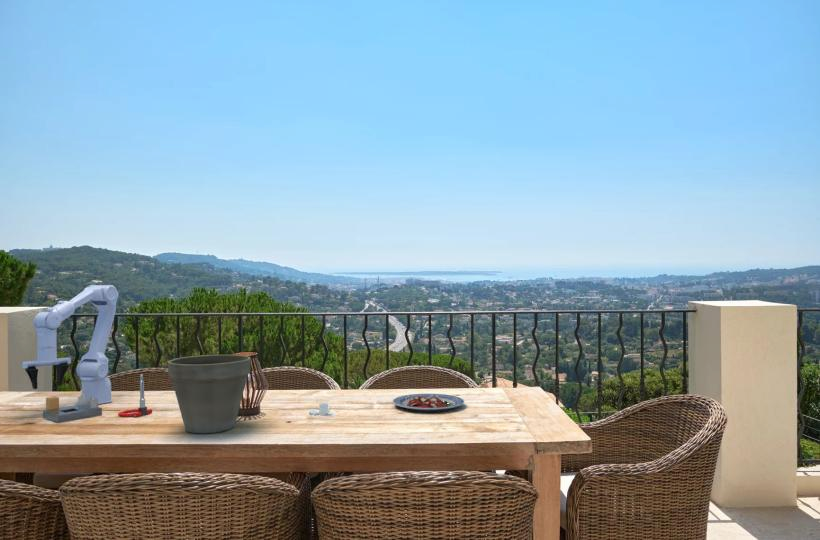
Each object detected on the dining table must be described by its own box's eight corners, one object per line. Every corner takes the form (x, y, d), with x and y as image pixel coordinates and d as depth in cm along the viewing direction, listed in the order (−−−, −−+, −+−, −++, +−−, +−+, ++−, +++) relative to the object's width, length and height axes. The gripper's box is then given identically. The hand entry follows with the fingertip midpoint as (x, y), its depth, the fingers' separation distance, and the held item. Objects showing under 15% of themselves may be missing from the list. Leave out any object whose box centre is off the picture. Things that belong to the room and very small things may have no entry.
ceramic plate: (380, 411, 218) (380, 402, 218) (408, 397, 242) (408, 389, 242) (451, 417, 209) (451, 408, 209) (472, 402, 232) (472, 394, 232)
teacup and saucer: (305, 415, 213) (305, 403, 213) (323, 411, 219) (323, 400, 219) (321, 420, 207) (321, 407, 207) (340, 415, 213) (339, 403, 213)
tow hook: (112, 417, 212) (134, 418, 208) (110, 376, 212) (132, 376, 209) (133, 411, 220) (154, 412, 217) (131, 372, 221) (153, 372, 217)
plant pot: (186, 418, 208) (186, 353, 208) (260, 418, 207) (260, 353, 207) (153, 438, 183) (153, 364, 183) (237, 438, 182) (236, 364, 182)
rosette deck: (86, 410, 221) (86, 393, 221) (101, 415, 213) (101, 397, 213) (43, 417, 210) (43, 399, 210) (57, 423, 202) (57, 404, 202)
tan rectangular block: (55, 413, 216) (55, 396, 216) (59, 415, 214) (59, 397, 214) (46, 415, 213) (45, 397, 213) (49, 416, 211) (49, 398, 211)
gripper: (64, 344, 222) (65, 382, 222) (19, 348, 211) (19, 388, 211) (73, 345, 217) (73, 384, 217) (26, 350, 206) (26, 391, 206)
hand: (47, 387), depth 214 cm, fingers open, 7 cm apart
